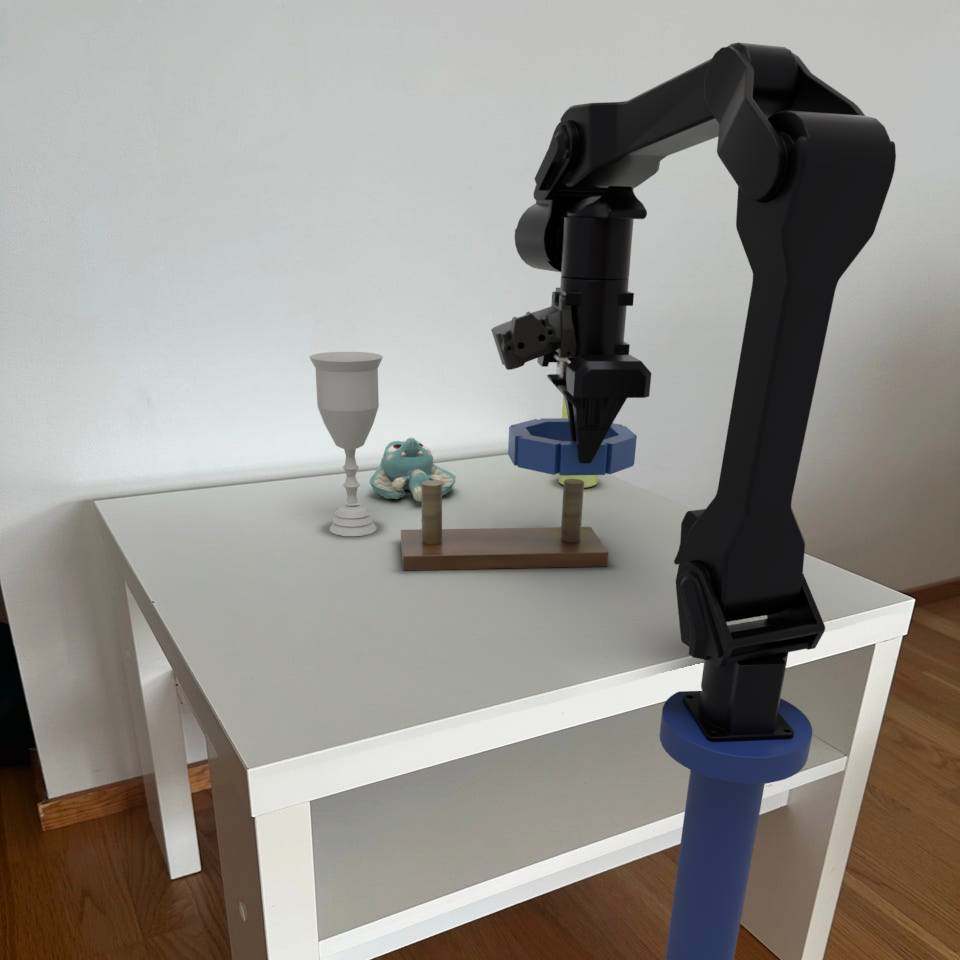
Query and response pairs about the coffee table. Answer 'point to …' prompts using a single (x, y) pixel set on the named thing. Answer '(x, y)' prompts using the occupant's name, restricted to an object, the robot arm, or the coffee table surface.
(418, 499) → the stuffed animal
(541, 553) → the rack
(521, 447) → the ring
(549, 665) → the coffee table surface
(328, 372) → the chalice
